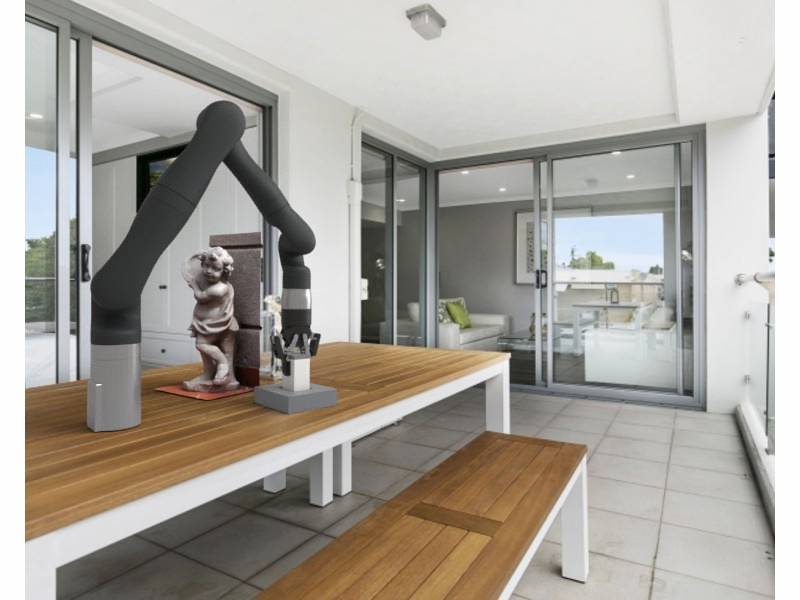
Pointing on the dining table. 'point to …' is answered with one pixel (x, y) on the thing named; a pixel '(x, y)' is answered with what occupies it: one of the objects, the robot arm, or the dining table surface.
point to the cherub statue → (225, 315)
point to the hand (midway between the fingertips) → (295, 374)
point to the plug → (298, 373)
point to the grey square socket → (295, 398)
